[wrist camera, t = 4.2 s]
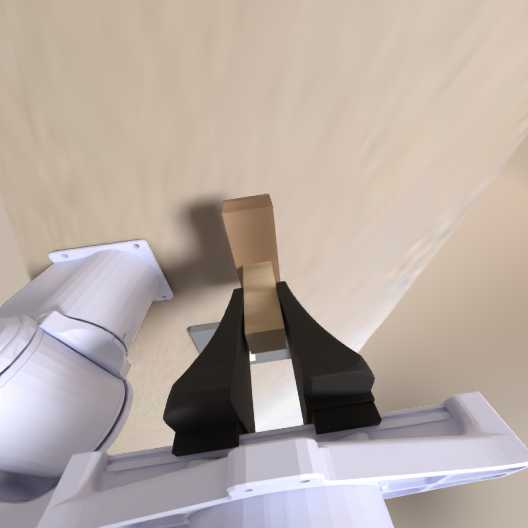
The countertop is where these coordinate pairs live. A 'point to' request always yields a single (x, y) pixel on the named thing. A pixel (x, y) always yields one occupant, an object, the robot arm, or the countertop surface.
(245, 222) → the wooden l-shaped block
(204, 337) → the board
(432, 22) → the countertop surface
